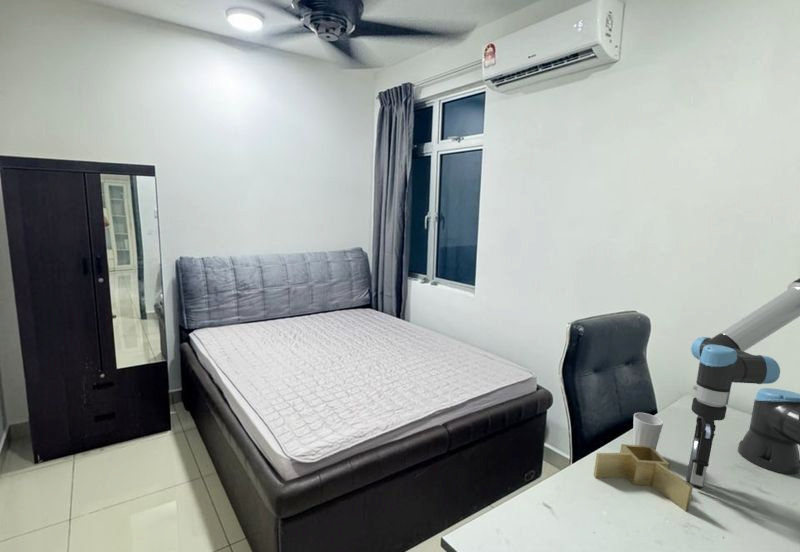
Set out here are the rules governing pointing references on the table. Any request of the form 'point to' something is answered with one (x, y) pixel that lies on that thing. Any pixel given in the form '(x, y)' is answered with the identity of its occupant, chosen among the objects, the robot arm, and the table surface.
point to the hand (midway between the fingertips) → (695, 478)
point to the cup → (646, 430)
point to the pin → (690, 468)
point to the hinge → (644, 472)
